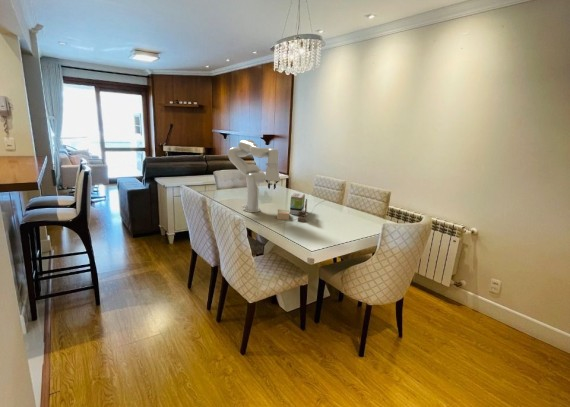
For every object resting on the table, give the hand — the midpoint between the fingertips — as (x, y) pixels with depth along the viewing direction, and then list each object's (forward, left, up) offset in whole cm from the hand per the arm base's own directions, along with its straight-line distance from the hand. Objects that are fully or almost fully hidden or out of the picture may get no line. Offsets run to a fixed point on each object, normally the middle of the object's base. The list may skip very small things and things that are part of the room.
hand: (271, 188), depth 238 cm
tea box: (+20, +17, -23) cm, 35 cm away
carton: (+10, 0, -23) cm, 25 cm away
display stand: (+24, 0, -22) cm, 33 cm away
